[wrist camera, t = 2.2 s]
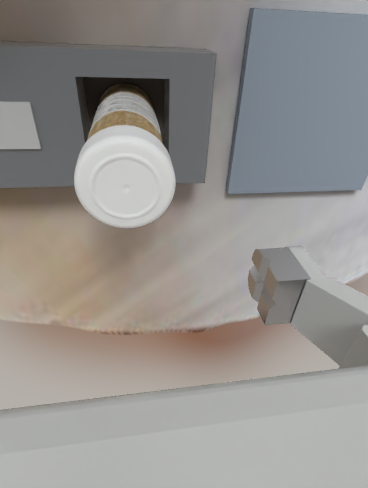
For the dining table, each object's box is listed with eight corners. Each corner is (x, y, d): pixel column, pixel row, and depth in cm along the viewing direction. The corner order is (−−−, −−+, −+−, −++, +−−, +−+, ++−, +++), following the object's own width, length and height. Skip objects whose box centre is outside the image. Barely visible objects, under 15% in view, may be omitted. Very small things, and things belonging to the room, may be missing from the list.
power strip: (-173, 34, 19) (-239, 38, 16) (205, 49, 22) (219, 54, 19) (-100, 171, 24) (-136, 196, 21) (197, 166, 28) (206, 187, 24)
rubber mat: (250, 8, 21) (254, 8, 21) (425, 18, 23) (433, 18, 23) (225, 190, 30) (227, 194, 29) (356, 186, 32) (361, 189, 31)
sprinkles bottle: (134, 152, 26) (140, 246, 16) (86, 119, 24) (52, 201, 13) (166, 107, 24) (197, 177, 14) (116, 66, 22) (107, 113, 12)
